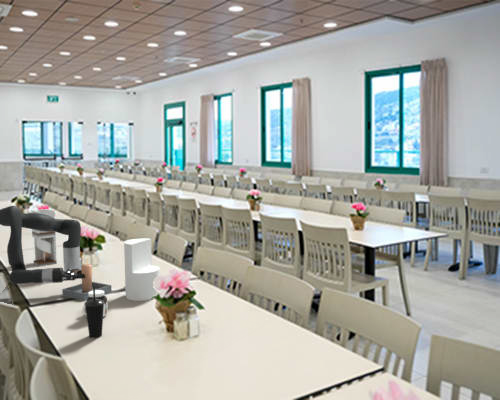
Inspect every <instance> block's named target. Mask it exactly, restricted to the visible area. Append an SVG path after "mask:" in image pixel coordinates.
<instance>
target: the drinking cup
mask: <svg viewBox="0 0 500 400" xmlns="http://www.w3.org/2000/svg"><path fill="white" fill-rule="evenodd" d="M86 301H87V300H86ZM86 301H85V302H84V304H83V306H84V305H85V308H86V314H85V316H86V315H87V316H86V322H87V328H88V329H87V330H88V337H89V338H92V339H97V338H101V337H102V336H103V324H104V323H103V321H104V319H103V309H104V303H105V302H104V301H103V300H100V299H95V287H93V299H92V300H89V301H87V302H86Z"/></svg>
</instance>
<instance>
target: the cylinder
mask: <svg viewBox="0 0 500 400" xmlns="http://www.w3.org/2000/svg"><path fill="white" fill-rule="evenodd" d="M123 247H124V252H123V253H124V279H125V280H124V283H125V285H124V286H125V287H124V288H125V299H127V300H130V301H135V302H137V301H138V302H140V301H141V302H143V301H149V300H152V299H150V297H152V296H154V295H156V294H158V292H157V291H156V290H155V289H154V288H153V281H154V279H155V278H156V277H158V276H160V277H161V271H160V266H158V265H153V263H152V262H153V261H152V260H153V255H152V253H153V251H152V238H148V237H147V238H144V237H143V238H142V237H141V238H133V239H127V240H124V241H123Z"/></svg>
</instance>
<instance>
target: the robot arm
mask: <svg viewBox="0 0 500 400" xmlns="http://www.w3.org/2000/svg"><path fill="white" fill-rule="evenodd" d="M0 226H3V227H10V235H9V239H8V243H7V248H6V253H7V261H8V264H9V266H10V268H11V272H10V273H9V276H8V280H9V281H10V282H11V283H12V284H14V285H22V284H56V283H59V284H60V283H63V282H64V281H65V282H67V281H76V280H79V279H80V280H82V278H85V274H82V267H81V266H82V265H83V264H82V263H83V260H82V258H81V250H80V249H81V248H80V247H81V246H80V245H81V239H82V238H81V237H82V225H81V223H80V221H79V220H76V219H71V218H70V219H69V218H67V219H62V218H52V217H51V216H49V215H45V214H40V213H31V212H28V213H27V212H26V213H24V212H23V213H22V211H21V209H20V208H19V206H16V205H10V206H6V207H3V208H1V209H0ZM23 228H24V229H30V230H32V229H34V230H39V231H54V232H55V233H58V234H61V235H64V236H68V238H67V240H66V241H63V243H62V251H63V252H62V254H63V256H62V258H63V267H47V268H35V269H27V268H26V264H25V260H24V252H23V243H22V240H23V239H22V234H23V233H22V232H23Z"/></svg>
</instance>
